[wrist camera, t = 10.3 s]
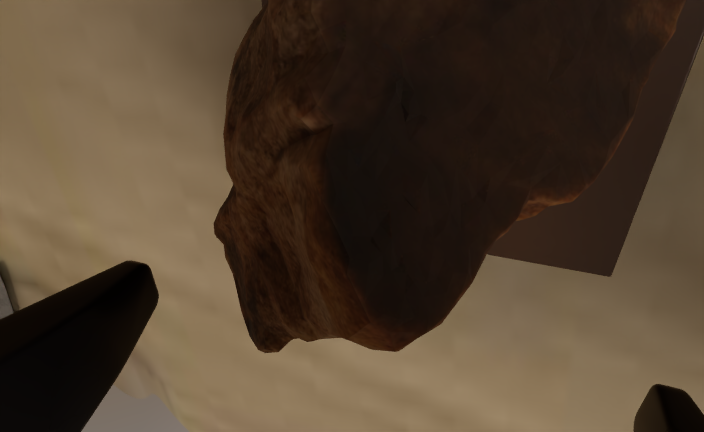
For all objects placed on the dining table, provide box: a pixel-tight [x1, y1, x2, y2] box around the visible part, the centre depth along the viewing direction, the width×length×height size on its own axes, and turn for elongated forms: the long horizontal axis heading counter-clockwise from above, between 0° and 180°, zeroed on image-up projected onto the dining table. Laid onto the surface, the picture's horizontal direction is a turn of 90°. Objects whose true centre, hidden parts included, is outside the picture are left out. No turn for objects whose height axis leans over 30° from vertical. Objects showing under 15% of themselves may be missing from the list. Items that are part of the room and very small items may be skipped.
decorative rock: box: [214, 0, 686, 353], centre depth 9 cm, size 12×6×11 cm, turn 133°
